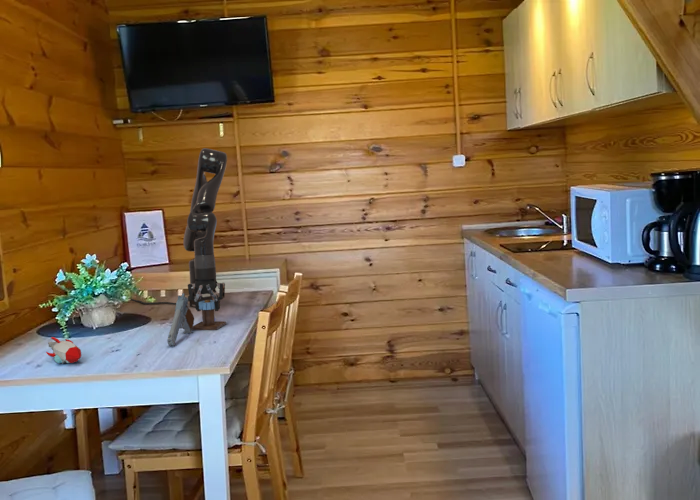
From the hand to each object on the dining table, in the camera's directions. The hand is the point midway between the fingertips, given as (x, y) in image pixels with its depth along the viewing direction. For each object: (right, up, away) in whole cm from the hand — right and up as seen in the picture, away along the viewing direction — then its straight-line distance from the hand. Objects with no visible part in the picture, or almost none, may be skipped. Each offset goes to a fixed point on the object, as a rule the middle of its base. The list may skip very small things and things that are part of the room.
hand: (207, 310), depth 248 cm
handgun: (-6, -8, -17) cm, 19 cm away
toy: (-39, -13, -35) cm, 54 cm away
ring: (0, +1, 0) cm, 1 cm away
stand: (0, -6, +1) cm, 6 cm away
